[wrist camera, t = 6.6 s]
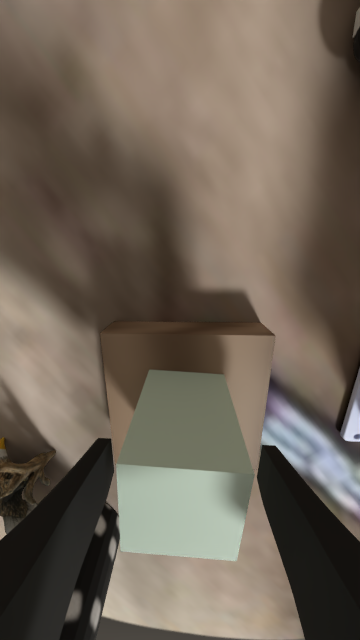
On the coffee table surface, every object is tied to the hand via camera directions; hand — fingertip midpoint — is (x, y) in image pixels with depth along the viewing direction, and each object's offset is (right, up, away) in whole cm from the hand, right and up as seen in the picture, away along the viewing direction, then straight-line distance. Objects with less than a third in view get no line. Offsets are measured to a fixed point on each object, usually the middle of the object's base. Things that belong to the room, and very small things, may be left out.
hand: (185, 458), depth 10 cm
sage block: (0, +1, +3) cm, 4 cm away
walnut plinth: (0, +2, +6) cm, 6 cm away
